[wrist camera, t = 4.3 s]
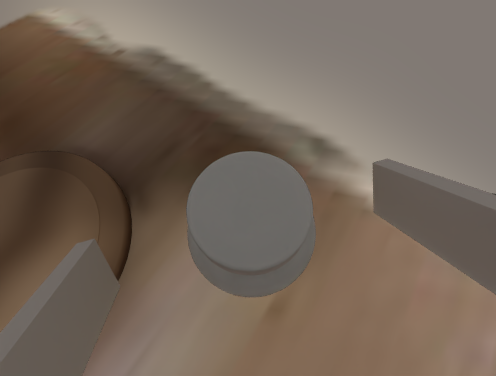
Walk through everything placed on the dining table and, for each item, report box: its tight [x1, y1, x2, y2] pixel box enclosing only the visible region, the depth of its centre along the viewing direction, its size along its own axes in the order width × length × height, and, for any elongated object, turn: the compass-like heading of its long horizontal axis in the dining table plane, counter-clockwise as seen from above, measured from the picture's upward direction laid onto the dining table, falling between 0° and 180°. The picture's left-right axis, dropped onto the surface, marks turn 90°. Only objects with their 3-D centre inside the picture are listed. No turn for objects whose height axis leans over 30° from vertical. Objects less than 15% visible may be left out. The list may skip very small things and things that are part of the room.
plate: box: [0, 151, 132, 332], centre depth 16 cm, size 14×14×1 cm
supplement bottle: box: [186, 151, 316, 297], centre depth 12 cm, size 5×5×10 cm
